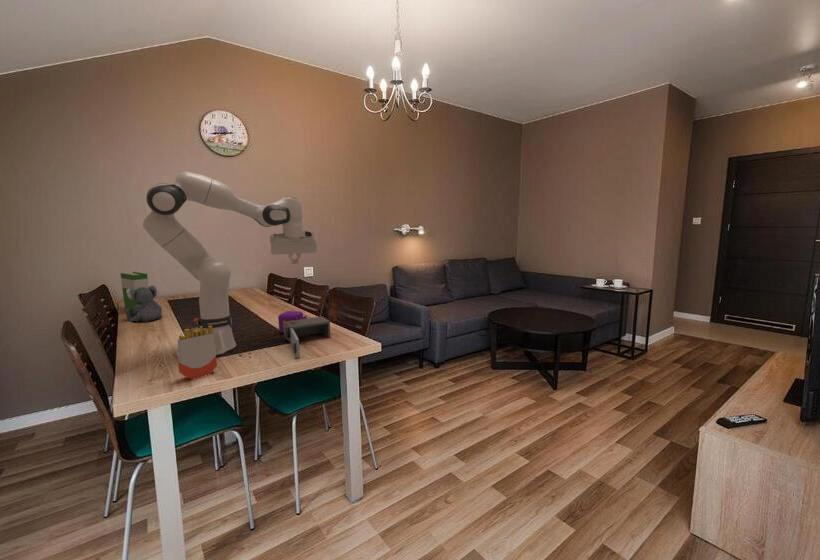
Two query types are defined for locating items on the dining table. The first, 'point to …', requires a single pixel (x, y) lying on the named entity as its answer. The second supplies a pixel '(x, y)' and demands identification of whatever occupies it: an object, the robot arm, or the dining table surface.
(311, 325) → the camera housing
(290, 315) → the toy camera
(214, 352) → the french fries container
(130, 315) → the koala plush
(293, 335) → the side door
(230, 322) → the robot arm
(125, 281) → the green and white box
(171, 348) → the dining table surface
